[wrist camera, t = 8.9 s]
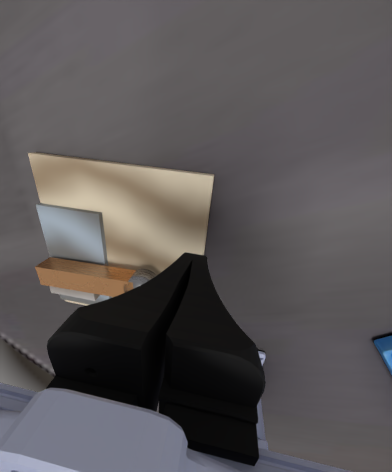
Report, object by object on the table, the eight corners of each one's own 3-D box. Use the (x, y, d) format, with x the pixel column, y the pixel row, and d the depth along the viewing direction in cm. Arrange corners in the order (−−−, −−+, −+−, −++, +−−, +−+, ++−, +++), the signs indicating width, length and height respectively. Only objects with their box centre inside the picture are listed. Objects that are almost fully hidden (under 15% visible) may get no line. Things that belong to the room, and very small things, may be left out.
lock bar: (159, 270, 22) (152, 282, 20) (159, 293, 23) (153, 306, 21) (49, 254, 23) (33, 263, 21) (55, 276, 24) (42, 287, 23)
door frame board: (195, 320, 27) (190, 344, 24) (70, 296, 29) (51, 315, 25) (214, 174, 18) (211, 181, 15) (36, 152, 20) (1, 154, 17)
